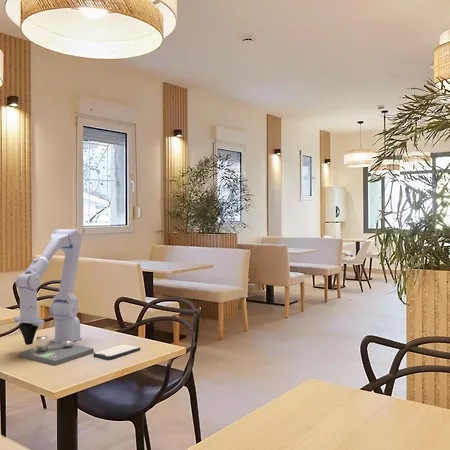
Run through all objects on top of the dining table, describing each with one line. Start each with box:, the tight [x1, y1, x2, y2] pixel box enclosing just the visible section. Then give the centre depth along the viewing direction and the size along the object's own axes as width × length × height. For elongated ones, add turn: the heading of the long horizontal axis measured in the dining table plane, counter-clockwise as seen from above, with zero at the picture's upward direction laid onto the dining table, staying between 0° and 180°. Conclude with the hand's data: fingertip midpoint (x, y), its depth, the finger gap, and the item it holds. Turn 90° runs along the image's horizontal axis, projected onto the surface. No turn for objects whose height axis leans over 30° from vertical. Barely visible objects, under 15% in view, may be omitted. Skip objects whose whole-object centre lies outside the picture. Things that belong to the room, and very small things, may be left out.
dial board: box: [18, 342, 95, 366], centre depth 174 cm, size 17×19×2 cm
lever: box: [30, 335, 74, 352], centre depth 175 cm, size 15×4×5 cm, turn 125°
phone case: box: [92, 343, 141, 361], centre depth 176 cm, size 9×2×16 cm
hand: (29, 344), depth 176 cm, fingers closed
